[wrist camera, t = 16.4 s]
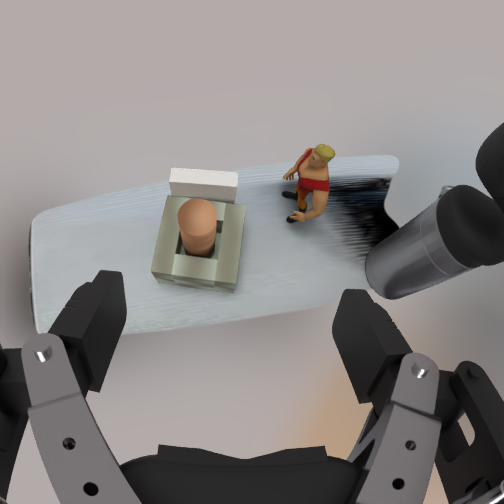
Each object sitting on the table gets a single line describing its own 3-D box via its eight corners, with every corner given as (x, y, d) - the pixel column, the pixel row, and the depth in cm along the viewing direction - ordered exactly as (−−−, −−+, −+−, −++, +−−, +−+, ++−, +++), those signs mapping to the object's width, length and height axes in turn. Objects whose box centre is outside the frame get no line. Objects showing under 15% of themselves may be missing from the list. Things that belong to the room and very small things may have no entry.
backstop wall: (232, 206, 44) (238, 172, 35) (231, 219, 43) (237, 186, 34) (177, 202, 43) (171, 167, 34) (175, 214, 42) (169, 181, 34)
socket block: (240, 225, 43) (245, 205, 38) (232, 293, 40) (236, 283, 34) (172, 215, 42) (167, 195, 37) (158, 282, 39) (150, 271, 33)
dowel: (215, 235, 40) (218, 199, 31) (214, 264, 39) (215, 235, 29) (186, 233, 40) (179, 197, 30) (183, 262, 38) (175, 233, 29)
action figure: (276, 180, 46) (302, 114, 32) (298, 180, 47) (330, 117, 33) (285, 236, 43) (320, 182, 29) (309, 235, 44) (351, 182, 30)
